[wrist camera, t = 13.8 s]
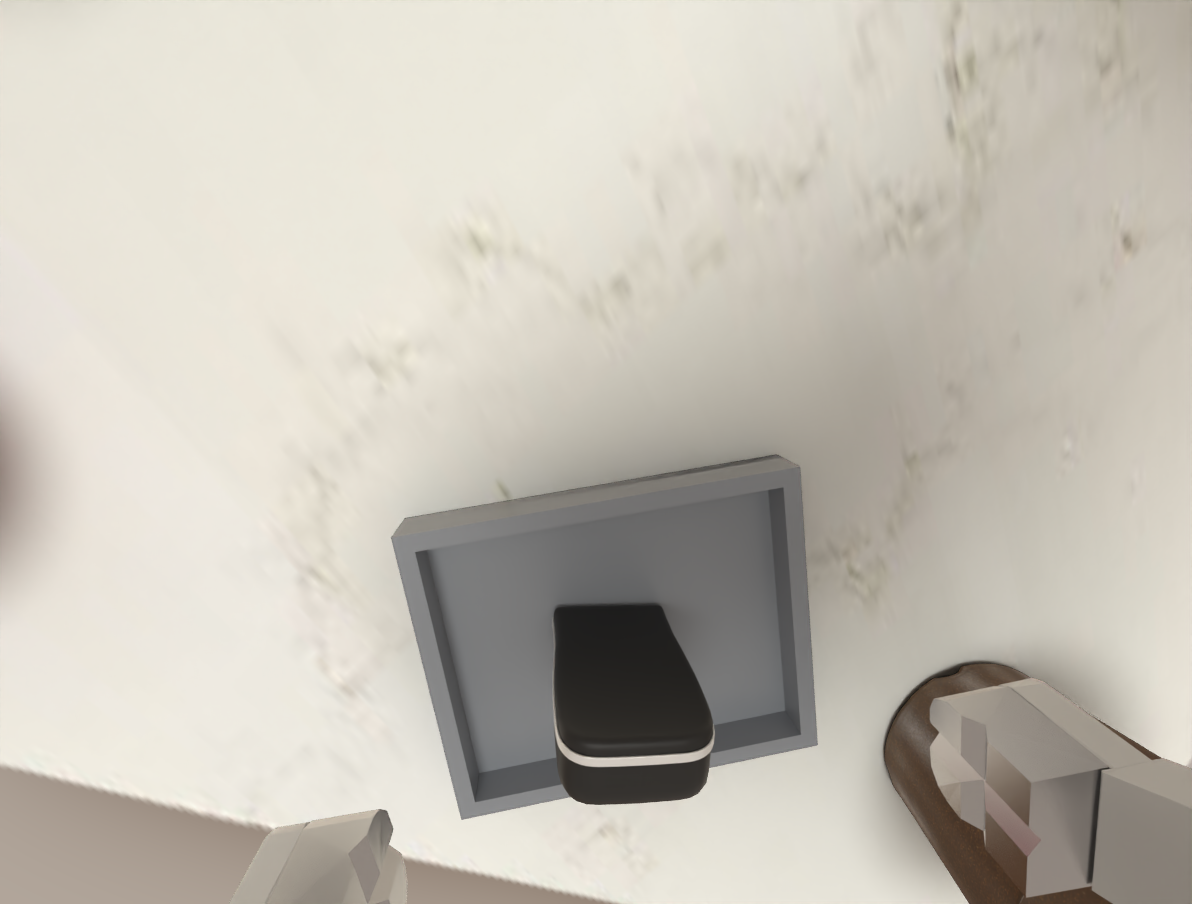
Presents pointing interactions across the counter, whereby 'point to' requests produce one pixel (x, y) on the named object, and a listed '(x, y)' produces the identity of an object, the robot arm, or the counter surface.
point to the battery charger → (626, 707)
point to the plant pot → (950, 836)
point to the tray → (610, 578)
